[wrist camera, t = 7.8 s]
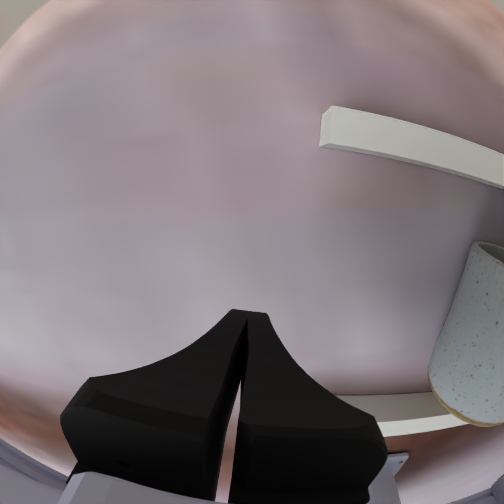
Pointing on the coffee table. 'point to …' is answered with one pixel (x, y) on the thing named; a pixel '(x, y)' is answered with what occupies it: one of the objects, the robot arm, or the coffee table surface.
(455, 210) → the coffee table surface
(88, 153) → the coffee table surface
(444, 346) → the ceramic mug
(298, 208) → the coffee table surface
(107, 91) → the coffee table surface
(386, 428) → the track rails
